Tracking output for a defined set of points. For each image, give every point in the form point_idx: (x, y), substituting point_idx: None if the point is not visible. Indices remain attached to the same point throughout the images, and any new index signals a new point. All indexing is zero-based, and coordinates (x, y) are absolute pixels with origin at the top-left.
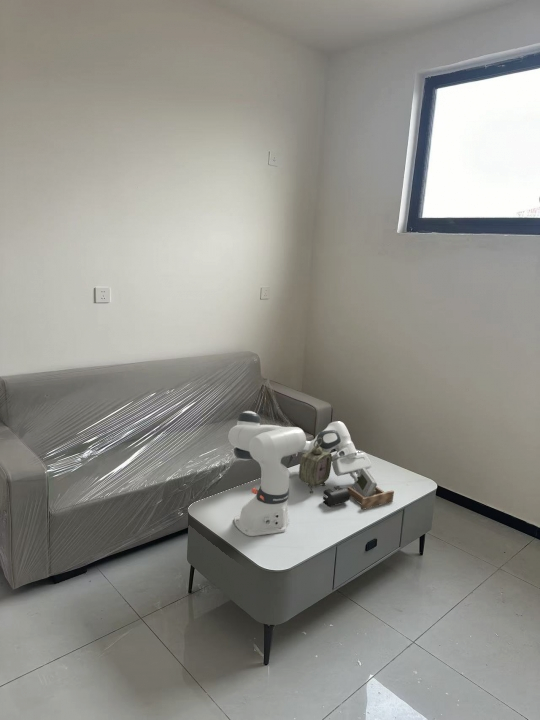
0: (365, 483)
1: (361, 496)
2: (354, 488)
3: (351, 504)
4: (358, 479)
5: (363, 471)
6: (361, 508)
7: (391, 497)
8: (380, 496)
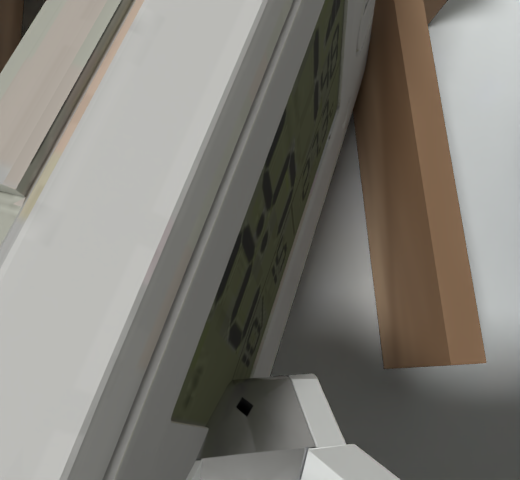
0: (329, 38)
1: (425, 34)
2: None
3: (479, 133)
4: (263, 387)
5: (148, 347)
6: (426, 17)
7: None
8: None
